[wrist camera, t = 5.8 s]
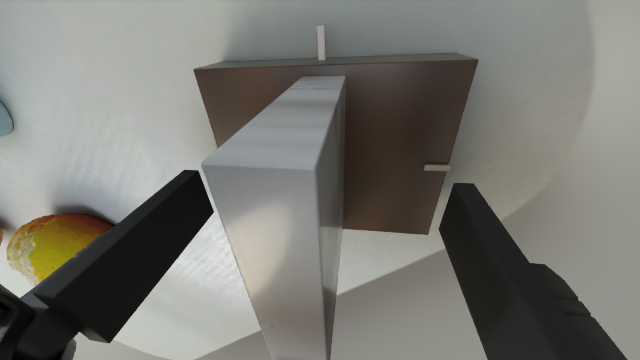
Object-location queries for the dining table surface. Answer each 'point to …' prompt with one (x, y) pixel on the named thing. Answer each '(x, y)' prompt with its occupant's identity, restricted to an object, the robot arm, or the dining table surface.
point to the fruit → (51, 243)
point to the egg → (1, 235)
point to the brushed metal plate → (287, 213)
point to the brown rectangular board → (364, 124)
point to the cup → (5, 121)
